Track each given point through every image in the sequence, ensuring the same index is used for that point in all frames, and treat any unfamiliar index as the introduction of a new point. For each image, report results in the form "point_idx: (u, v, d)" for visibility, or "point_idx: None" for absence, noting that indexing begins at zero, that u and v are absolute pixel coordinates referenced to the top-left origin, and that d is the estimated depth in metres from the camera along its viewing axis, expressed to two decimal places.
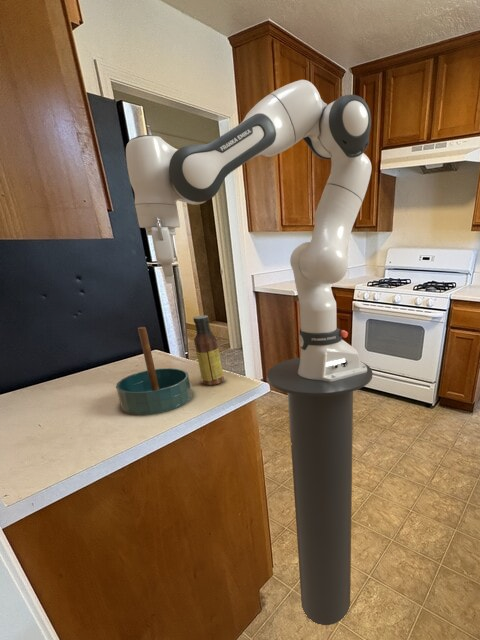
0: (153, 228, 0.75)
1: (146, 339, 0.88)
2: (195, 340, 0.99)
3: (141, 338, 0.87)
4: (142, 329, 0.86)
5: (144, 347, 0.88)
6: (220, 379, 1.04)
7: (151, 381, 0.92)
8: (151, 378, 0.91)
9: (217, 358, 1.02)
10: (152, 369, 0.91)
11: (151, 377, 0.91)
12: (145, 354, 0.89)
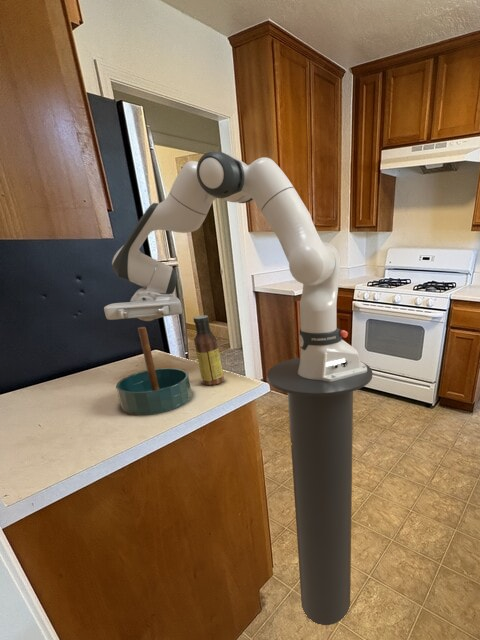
0: None
1: (146, 339, 0.88)
2: (195, 340, 0.99)
3: (141, 338, 0.87)
4: (142, 329, 0.86)
5: (144, 347, 0.88)
6: (220, 379, 1.04)
7: (151, 381, 0.92)
8: (151, 378, 0.91)
9: (217, 358, 1.02)
10: (152, 369, 0.91)
11: (151, 377, 0.91)
12: (145, 354, 0.89)
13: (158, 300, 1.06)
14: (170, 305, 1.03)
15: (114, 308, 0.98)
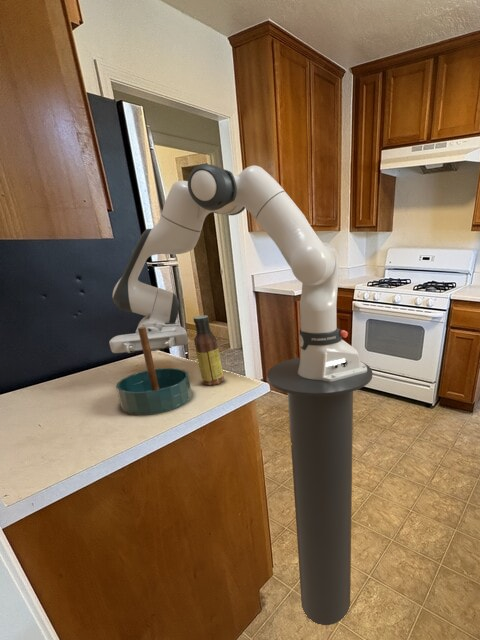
0: None
1: (146, 339, 0.88)
2: (195, 340, 0.99)
3: (141, 338, 0.87)
4: (142, 329, 0.86)
5: (144, 347, 0.88)
6: (220, 379, 1.04)
7: (151, 381, 0.92)
8: (151, 378, 0.91)
9: (217, 358, 1.02)
10: (152, 369, 0.91)
11: (151, 377, 0.91)
12: (145, 354, 0.89)
13: (164, 331, 1.05)
14: (176, 336, 1.01)
15: (119, 342, 0.96)
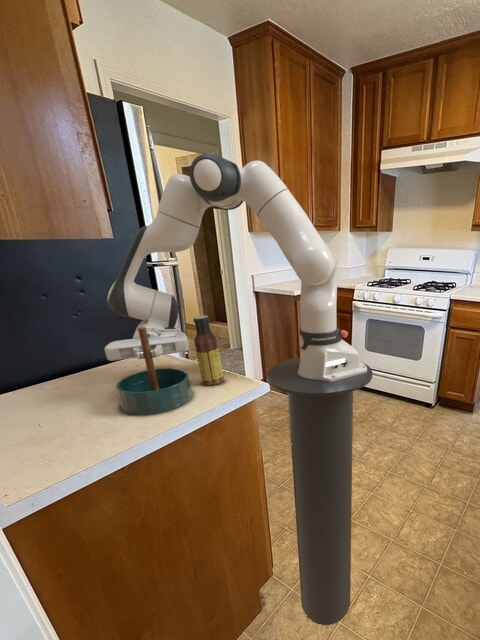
0: None
1: (146, 339, 0.88)
2: (195, 340, 0.99)
3: (141, 338, 0.87)
4: (142, 329, 0.86)
5: (144, 347, 0.88)
6: (220, 379, 1.04)
7: (151, 381, 0.92)
8: (151, 378, 0.91)
9: (217, 358, 1.02)
10: (152, 369, 0.91)
11: (151, 377, 0.91)
12: (145, 354, 0.89)
13: (163, 336, 0.98)
14: (176, 343, 0.95)
15: (115, 348, 0.90)
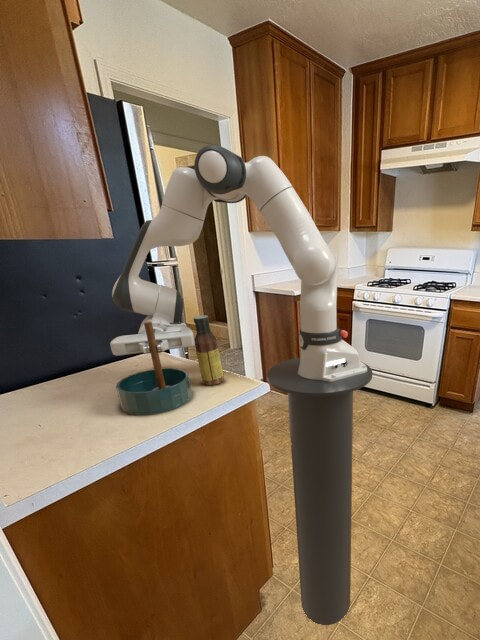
0: None
1: (152, 334, 0.87)
2: (195, 340, 0.99)
3: (147, 333, 0.87)
4: (148, 323, 0.86)
5: (150, 342, 0.87)
6: (220, 379, 1.04)
7: (157, 376, 0.91)
8: (157, 373, 0.91)
9: (217, 358, 1.02)
10: (158, 364, 0.90)
11: (157, 372, 0.91)
12: (151, 349, 0.88)
13: (168, 331, 0.98)
14: (182, 338, 0.94)
15: (121, 343, 0.89)
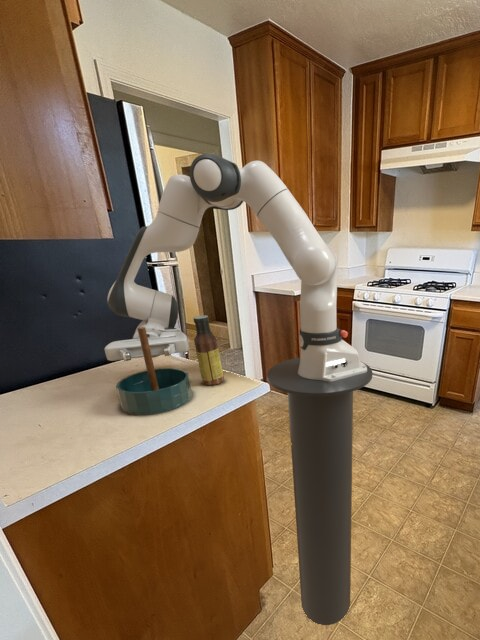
0: None
1: (146, 339, 0.88)
2: (195, 340, 0.99)
3: (141, 338, 0.87)
4: (142, 329, 0.87)
5: (144, 347, 0.88)
6: (220, 379, 1.04)
7: (151, 381, 0.92)
8: (151, 378, 0.91)
9: (217, 358, 1.02)
10: (152, 369, 0.91)
11: (150, 377, 0.91)
12: (145, 354, 0.89)
13: (163, 336, 0.98)
14: (176, 343, 0.95)
15: (115, 349, 0.90)
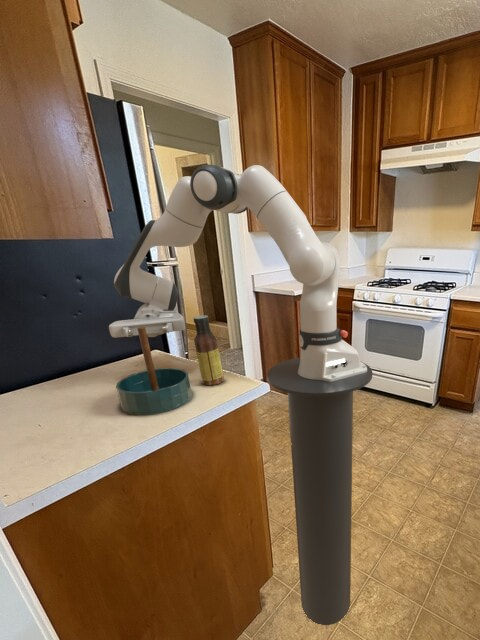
0: None
1: (146, 339, 0.88)
2: (195, 340, 0.99)
3: (141, 338, 0.87)
4: (142, 329, 0.87)
5: (144, 347, 0.88)
6: (220, 379, 1.04)
7: (151, 381, 0.92)
8: (151, 378, 0.91)
9: (217, 358, 1.02)
10: (152, 369, 0.91)
11: (150, 377, 0.91)
12: (145, 354, 0.89)
13: (161, 317, 1.08)
14: (173, 322, 1.05)
15: (119, 326, 1.00)
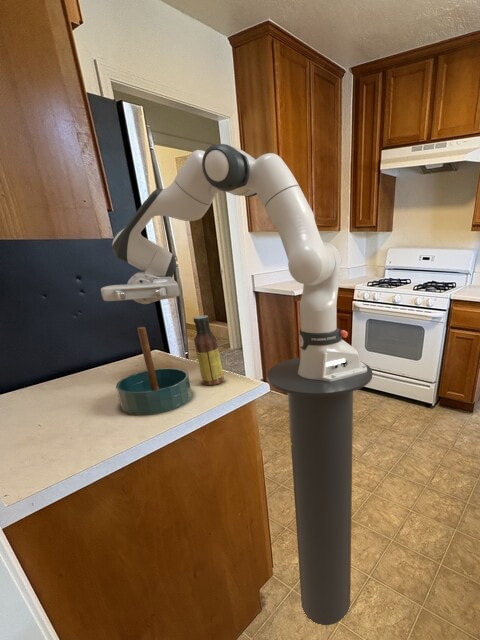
0: None
1: (146, 339, 0.88)
2: (195, 340, 0.99)
3: (141, 338, 0.87)
4: (142, 329, 0.87)
5: (144, 347, 0.88)
6: (220, 379, 1.04)
7: (151, 381, 0.92)
8: (151, 378, 0.91)
9: (217, 358, 1.02)
10: (152, 369, 0.91)
11: (150, 377, 0.91)
12: (145, 354, 0.89)
13: (155, 282, 1.06)
14: (167, 287, 1.03)
15: (111, 289, 0.98)
